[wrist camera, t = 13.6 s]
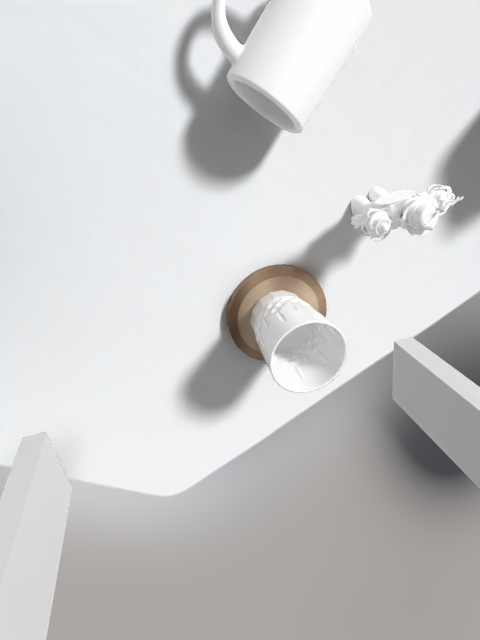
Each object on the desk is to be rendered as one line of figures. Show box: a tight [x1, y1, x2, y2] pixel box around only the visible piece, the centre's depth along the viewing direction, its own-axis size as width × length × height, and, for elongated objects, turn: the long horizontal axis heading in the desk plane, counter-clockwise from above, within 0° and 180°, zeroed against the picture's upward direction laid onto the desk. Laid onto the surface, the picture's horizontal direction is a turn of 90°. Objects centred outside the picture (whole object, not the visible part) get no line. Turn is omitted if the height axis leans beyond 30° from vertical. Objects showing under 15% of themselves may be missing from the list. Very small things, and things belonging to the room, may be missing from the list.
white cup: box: [250, 290, 347, 393], centre depth 43 cm, size 8×8×10 cm
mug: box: [211, 0, 371, 133], centre depth 33 cm, size 12×10×8 cm
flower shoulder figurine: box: [351, 184, 464, 241], centre depth 40 cm, size 9×4×12 cm, turn 109°
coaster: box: [227, 265, 326, 361], centre depth 48 cm, size 12×12×1 cm
